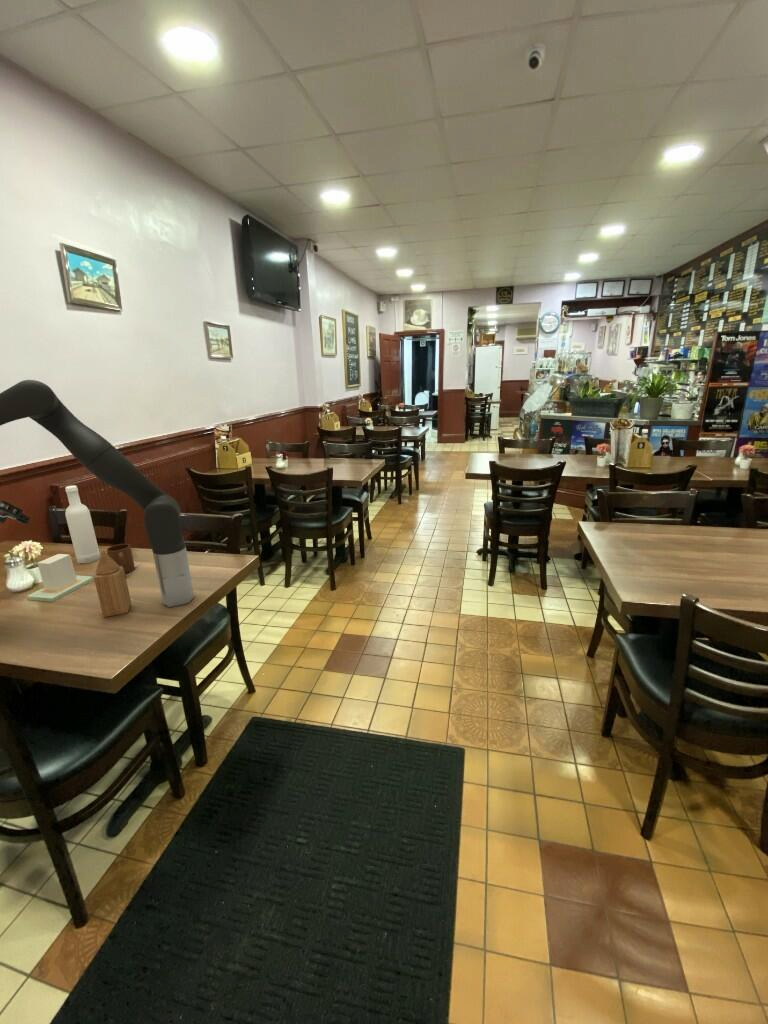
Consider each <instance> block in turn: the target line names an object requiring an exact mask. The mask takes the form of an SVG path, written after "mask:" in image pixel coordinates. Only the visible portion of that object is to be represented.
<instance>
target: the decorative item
mask: <svg viewBox="0 0 768 1024" xmlns="http://www.w3.org/2000/svg"><path fill="white" fill-rule="evenodd" d="M100 557H101V558H100V559H99V561H98V564H97V565H96V566H97V567H96V569H95V576H93V577H94V580H93V581H94V584H95V587H96V593H97V596H98V600H99V603H100V608H101V612H102V615H103V617H105V618H108V617H113V616H118V615H124V614H128V612H129V611H130V607H131V605H132V600H131V596H130V591H129V586H128V582H127V578H126V574H125V572H124V568H123V566H119V565H118V564H117V563H116V562H115V561H114V560H113V559H112V558H111V557H110V556H109V555H108V554H107V551H104V550H102V552H101V554H100Z"/></svg>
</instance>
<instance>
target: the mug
mask: <svg viewBox="0 0 768 1024" xmlns="http://www.w3.org/2000/svg"><path fill="white" fill-rule="evenodd" d="M106 553H107V554H108V555H109V556H110V557H111V558H112V559H113V560H114V561H115V562H116V563H117V564H118V565H119V566H123V568H124V572H125V573H126V574H128V573H127V572H129V573H131V572H133V571H134V570H135V567H136V566H135V561H134V556H133V552H132V549H131V545H130V544H128V543H119V544H114V545H111V546H109V547H108V548H106ZM133 569H134V570H133ZM132 570H133V571H132ZM130 571H131V572H130Z"/></svg>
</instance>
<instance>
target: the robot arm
mask: <svg viewBox="0 0 768 1024" xmlns="http://www.w3.org/2000/svg"><path fill="white" fill-rule="evenodd" d="M26 418H29V419H31V420H32V421H34V422H36V423H37V424H38V425H40V426H41V427H43V428H44V430H47V431H48V432H49V433H51V434H52V435H53V436H54V437H55V438H56V439H58V440H59V442H60V443H61V444H62V445H63V446H64V447H65V448H66V450H67V451H68V452H69V453H70V454H71V455H72V456H73V457H74V458H75V459H76V460H77V461H78V462H79V463H80V464H81V465H82V466H83V467H84V468H86V469H87V470H88V471H89V472H90V473H91V474H92V475H94V476H95V477H96V478H97V479H99V481H102V482H103V483H105V484H106V485H108V486H109V487H112V488H114V489H116V490H118V491H120V492H121V493H123V494H125V495H127V496H128V497H129V498H131V499H132V500H133V501H135V502H136V504H137V505H139V506H140V508H142V509H143V510H144V512H143V521H144V527H145V532H146V535H147V540H148V544H149V545H150V547H151V551H152V556H153V561H154V566H155V572H156V575H157V581H158V586H159V590H160V596H161V600H162V604H163V605H164V606H167V608H171V607H177V606H181V605H185V604H190V602H191V601H192V600H193V599H194V598H195V592H194V587H193V581H192V575H191V569H190V564H189V558H188V553H187V552H188V551H187V547H186V542H185V537H184V536H183V533H182V532H183V531H182V527H181V521H180V516H181V506H180V504H179V503H178V501H177V500H176V499H175V498H173V497H172V496H170V495H169V494H167V493H166V491H164V490H162V489H161V488H160V487H158V486H157V485H155V484H154V482H152V481H150V480H149V478H147V477H146V476H145V474H143V472H141V470H139V468H137V467H136V465H134V464H133V463H132V462H131V460H129V459H128V458H127V457H126V456H125V455H124V454H123V453H122V452H121V451H119V450H118V449H117V448H116V447H115V446H113V444H112V443H111V442H109V441H108V440H107V439H106V438H104V437H103V436H102V435H101V434H99V433H98V432H96V431H95V430H93V429H92V428H90V427H88V426H87V425H86V424H85V423H83V422H82V421H81V420H80V419H78V418H77V417H76V415H74V414H73V413H72V412H71V411H70V410H69V409H68V407H66V405H65V404H64V403H63V402H62V401H61V400H60V398H58V396H57V395H56V393H55V392H54V390H53V389H52V388H51V387H50V386H49V385H47V384H46V383H44V382H42V381H39V380H34V379H25V380H21V381H19V382H17V383H15V384H14V385H12V386H11V387H8V388H7V389H5V390H4V391H2V392H0V426H3V425H6V424H9V423H11V422H14V421H18V420H21V419H26ZM2 512H3V513H2ZM23 512H24V510H23V509H22V508H19V507H17V506H16V505H14V504H11V503H9V502H8V501H5V500H1V501H0V524H5V523H6V521H7V519H8V518H10V519H12V520H15V521H16V522H19V523H21V524H22V525H28V524H29V522H30V520H31V518H30V516H27V515H26V514H23Z"/></svg>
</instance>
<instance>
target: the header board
mask: <svg viewBox="0 0 768 1024" xmlns="http://www.w3.org/2000/svg"><path fill="white" fill-rule="evenodd" d="M75 575H76V579H77V582H75V583H73V584H71V585H69V586H67V587H65V588H63V589H61V590H59V591H57V592H56V591H45V588H44V587H43V588H42V587H41V588H40V589H39V590H37V591H35V592H33V593H30V594H28V595H26V597H27V598H26V599H27V600H29V601H30V600H31V601H39V602H40V601H41V602H49V603H50V602H51V603H54V602H56V601H58V600H59V599H60V598H62V597H65V596H66V595H69V594H70V593H72V592H74V591H76V590H78V589H80V588H82V587H84V586H85V584H86V585H88V584H89V583H91V582H92V580H93V581H94V577H95V576H89V575H77V574H75ZM90 581H91V582H90ZM83 585H84V586H83ZM81 586H82V587H81Z"/></svg>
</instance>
